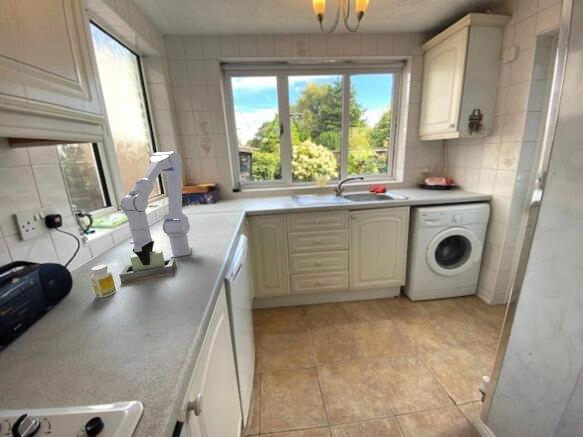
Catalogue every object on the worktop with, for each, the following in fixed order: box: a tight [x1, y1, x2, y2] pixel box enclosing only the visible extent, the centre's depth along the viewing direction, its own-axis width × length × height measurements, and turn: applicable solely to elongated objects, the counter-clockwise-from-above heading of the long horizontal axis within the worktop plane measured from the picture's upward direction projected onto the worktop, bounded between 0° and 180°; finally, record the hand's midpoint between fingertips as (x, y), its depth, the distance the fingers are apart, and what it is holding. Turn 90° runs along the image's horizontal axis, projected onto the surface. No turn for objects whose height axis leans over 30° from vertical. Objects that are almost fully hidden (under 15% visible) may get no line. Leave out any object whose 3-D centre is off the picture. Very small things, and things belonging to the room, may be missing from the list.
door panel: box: [130, 249, 165, 271], centre depth 94 cm, size 3×10×6 cm, turn 106°
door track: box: [119, 257, 177, 284], centre depth 95 cm, size 8×17×3 cm, turn 106°
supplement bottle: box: [90, 264, 117, 299], centre depth 82 cm, size 5×5×10 cm
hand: (147, 262), depth 94 cm, fingers closed on door panel, 3 cm apart
